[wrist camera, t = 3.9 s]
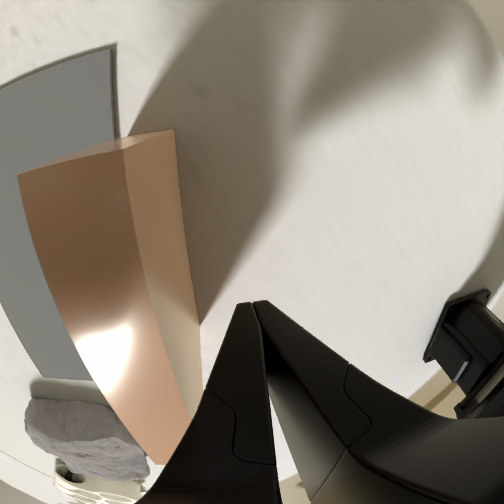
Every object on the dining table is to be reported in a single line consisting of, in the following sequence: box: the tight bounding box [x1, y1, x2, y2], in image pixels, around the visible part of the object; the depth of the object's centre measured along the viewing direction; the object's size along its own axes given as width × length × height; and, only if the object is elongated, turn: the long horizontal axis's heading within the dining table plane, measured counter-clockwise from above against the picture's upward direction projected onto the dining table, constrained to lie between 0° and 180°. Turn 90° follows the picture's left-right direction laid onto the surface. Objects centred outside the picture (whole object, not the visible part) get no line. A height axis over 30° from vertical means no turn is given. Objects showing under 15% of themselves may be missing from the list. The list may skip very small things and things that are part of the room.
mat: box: [0, 49, 116, 381], centre depth 12 cm, size 10×18×1 cm, turn 2°
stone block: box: [24, 397, 150, 482], centre depth 18 cm, size 12×5×10 cm
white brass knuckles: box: [53, 464, 143, 504], centre depth 26 cm, size 3×18×15 cm
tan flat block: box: [17, 129, 203, 465], centre depth 9 cm, size 2×10×8 cm, turn 1°
